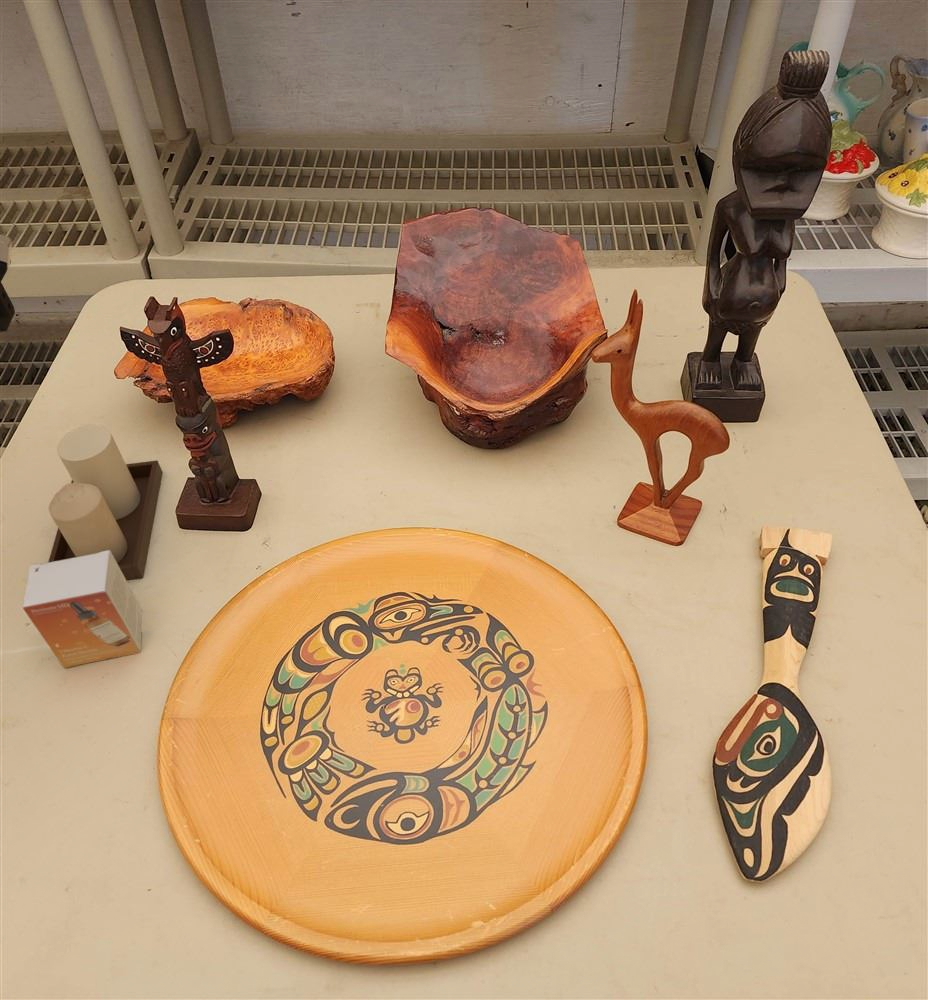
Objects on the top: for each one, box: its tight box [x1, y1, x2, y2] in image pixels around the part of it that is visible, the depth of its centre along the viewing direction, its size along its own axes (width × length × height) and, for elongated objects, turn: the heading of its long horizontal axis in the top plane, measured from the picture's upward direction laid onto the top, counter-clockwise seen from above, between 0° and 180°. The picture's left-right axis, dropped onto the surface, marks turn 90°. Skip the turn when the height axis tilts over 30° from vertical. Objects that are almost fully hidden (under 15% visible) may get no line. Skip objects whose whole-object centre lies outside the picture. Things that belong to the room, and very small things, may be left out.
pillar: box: [56, 424, 140, 520], centre depth 101 cm, size 6×6×10 cm
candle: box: [48, 482, 127, 563], centre depth 95 cm, size 6×6×10 cm
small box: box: [22, 550, 143, 669], centre depth 87 cm, size 8×6×10 cm
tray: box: [47, 459, 164, 582], centre depth 101 cm, size 10×17×3 cm, turn 7°
